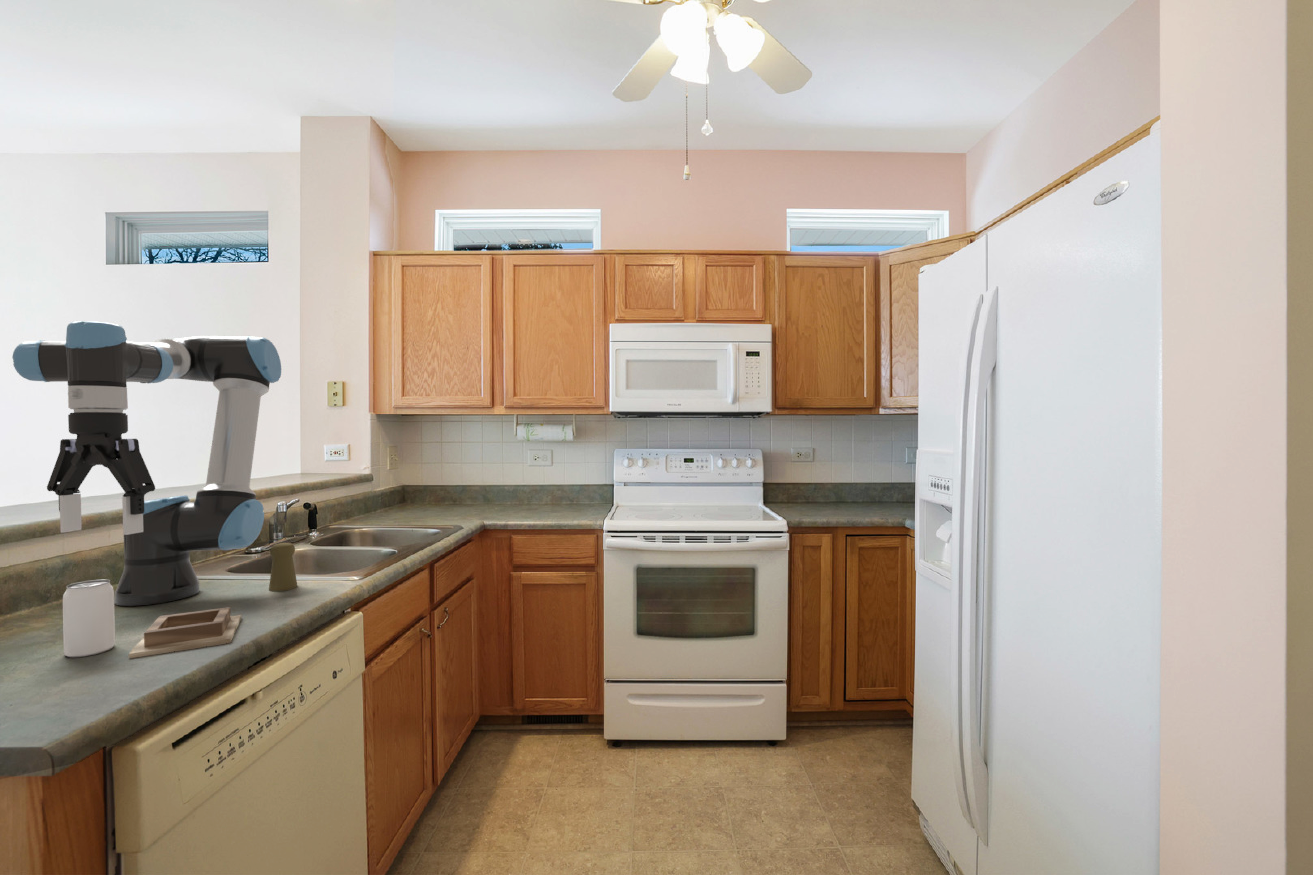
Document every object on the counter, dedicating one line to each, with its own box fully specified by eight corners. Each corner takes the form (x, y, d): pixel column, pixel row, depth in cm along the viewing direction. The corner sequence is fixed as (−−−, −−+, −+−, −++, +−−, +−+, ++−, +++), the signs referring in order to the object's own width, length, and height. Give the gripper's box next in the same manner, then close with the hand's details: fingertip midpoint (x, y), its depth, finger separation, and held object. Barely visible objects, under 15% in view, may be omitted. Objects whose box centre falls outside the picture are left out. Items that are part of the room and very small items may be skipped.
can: (83, 659, 99) (81, 589, 99) (53, 657, 100) (52, 587, 100) (124, 645, 105) (123, 579, 105) (96, 643, 106) (95, 578, 106)
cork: (276, 585, 147) (276, 541, 146) (302, 584, 147) (301, 540, 147) (263, 591, 140) (262, 546, 140) (289, 590, 141) (289, 545, 141)
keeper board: (153, 630, 113) (152, 613, 113) (241, 618, 120) (241, 602, 120) (128, 658, 99) (128, 639, 99) (230, 642, 106) (229, 624, 106)
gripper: (16, 411, 101) (19, 534, 101) (133, 410, 96) (137, 538, 96) (67, 412, 108) (70, 526, 109) (178, 411, 103) (181, 530, 104)
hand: (102, 532), depth 102 cm, fingers open, 13 cm apart
